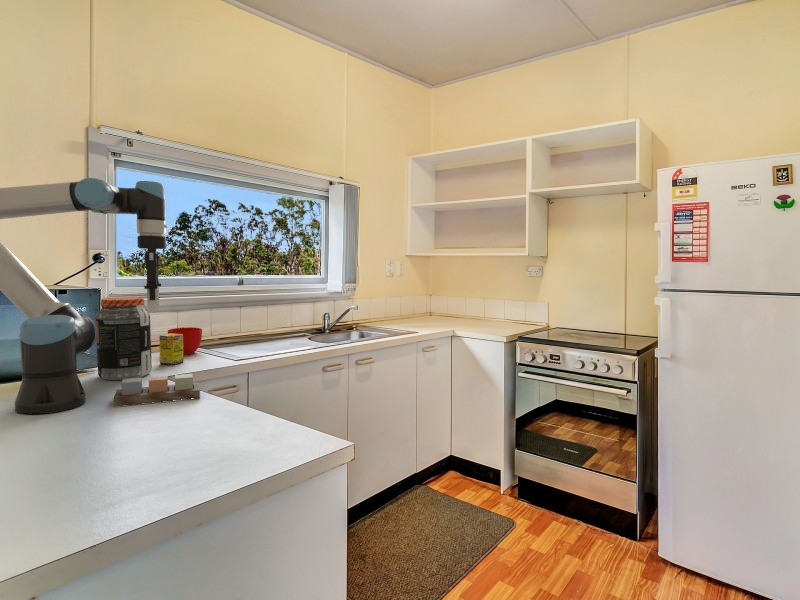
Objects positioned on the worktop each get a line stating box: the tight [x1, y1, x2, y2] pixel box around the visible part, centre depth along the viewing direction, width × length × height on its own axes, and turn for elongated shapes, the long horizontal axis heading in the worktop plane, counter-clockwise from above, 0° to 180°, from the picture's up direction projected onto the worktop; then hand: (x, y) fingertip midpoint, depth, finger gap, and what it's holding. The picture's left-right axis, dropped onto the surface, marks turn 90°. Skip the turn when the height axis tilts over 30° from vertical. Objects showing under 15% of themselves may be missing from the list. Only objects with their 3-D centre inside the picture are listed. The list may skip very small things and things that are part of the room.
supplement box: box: [158, 333, 184, 366], centre depth 181 cm, size 6×6×11 cm
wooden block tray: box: [113, 382, 201, 407], centre depth 136 cm, size 21×9×2 cm, turn 114°
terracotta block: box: [148, 375, 169, 393], centre depth 136 cm, size 5×5×4 cm
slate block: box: [120, 377, 143, 395], centre depth 133 cm, size 5×5×4 cm
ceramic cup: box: [167, 326, 203, 356], centre depth 199 cm, size 13×17×10 cm
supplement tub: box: [95, 297, 153, 381], centre depth 161 cm, size 16×16×26 cm
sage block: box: [174, 373, 194, 390], centre depth 138 cm, size 5×5×4 cm
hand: (153, 309), depth 145 cm, fingers open, 11 cm apart
